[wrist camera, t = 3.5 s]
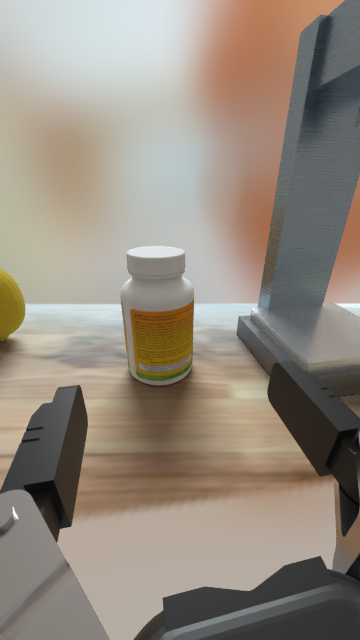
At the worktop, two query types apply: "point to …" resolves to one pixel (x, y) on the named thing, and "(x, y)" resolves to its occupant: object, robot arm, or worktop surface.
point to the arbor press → (313, 211)
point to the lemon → (10, 305)
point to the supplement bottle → (158, 315)
